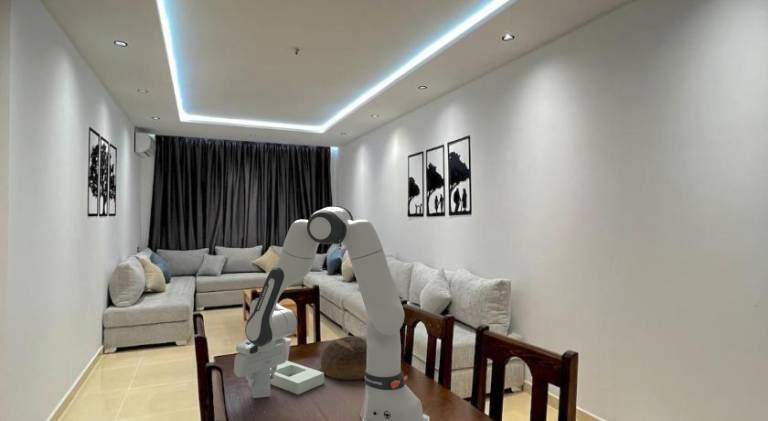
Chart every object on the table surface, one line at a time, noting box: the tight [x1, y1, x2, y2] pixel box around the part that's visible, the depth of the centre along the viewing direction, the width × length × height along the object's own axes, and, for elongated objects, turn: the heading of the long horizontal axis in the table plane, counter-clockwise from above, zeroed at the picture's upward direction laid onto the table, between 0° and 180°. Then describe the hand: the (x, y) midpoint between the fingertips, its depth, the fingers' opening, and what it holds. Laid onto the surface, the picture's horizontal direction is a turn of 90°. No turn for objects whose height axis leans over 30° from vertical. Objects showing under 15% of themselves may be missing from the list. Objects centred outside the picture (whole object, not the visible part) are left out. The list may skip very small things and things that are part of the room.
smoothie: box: [284, 337, 292, 361], centre depth 188 cm, size 6×6×14 cm
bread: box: [320, 335, 367, 381], centre depth 181 cm, size 26×27×13 cm
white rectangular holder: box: [270, 360, 325, 395], centre depth 167 cm, size 23×13×4 cm, turn 53°
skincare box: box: [251, 361, 271, 399], centre depth 154 cm, size 6×4×12 cm
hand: (261, 382), depth 154 cm, fingers closed on skincare box, 7 cm apart
